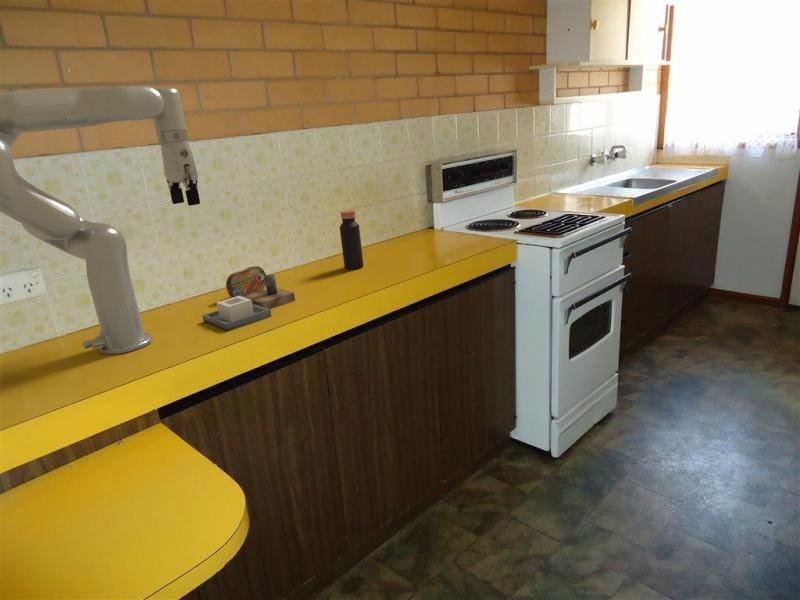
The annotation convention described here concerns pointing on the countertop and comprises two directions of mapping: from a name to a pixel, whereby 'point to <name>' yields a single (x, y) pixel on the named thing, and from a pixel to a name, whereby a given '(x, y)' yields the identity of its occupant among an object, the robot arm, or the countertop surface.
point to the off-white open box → (235, 308)
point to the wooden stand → (271, 295)
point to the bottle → (351, 241)
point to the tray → (227, 326)
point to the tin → (246, 282)
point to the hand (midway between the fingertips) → (186, 203)
